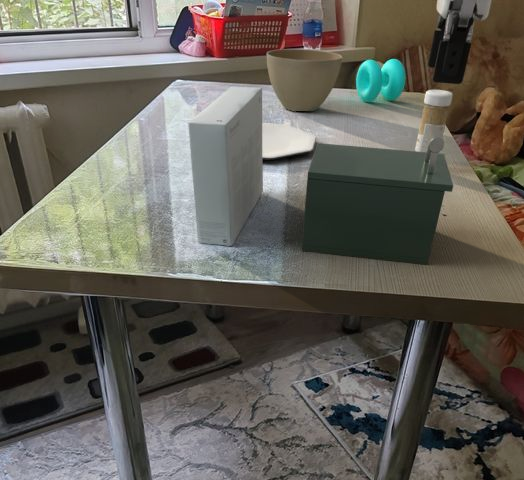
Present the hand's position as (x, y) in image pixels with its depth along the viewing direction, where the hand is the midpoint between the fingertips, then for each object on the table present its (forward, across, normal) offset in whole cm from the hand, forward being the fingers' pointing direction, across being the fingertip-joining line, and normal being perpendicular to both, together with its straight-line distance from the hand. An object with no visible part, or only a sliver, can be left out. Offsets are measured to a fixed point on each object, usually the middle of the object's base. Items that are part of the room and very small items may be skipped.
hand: (443, 74), depth 65 cm
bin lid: (+11, -1, +6) cm, 13 cm away
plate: (+22, +38, +29) cm, 52 cm away
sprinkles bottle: (+21, +32, -4) cm, 39 cm away
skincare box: (+22, +2, +26) cm, 34 cm away
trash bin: (+21, -1, +6) cm, 22 cm away
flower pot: (+21, +72, +25) cm, 79 cm away
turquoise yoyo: (+21, +87, +6) cm, 90 cm away
